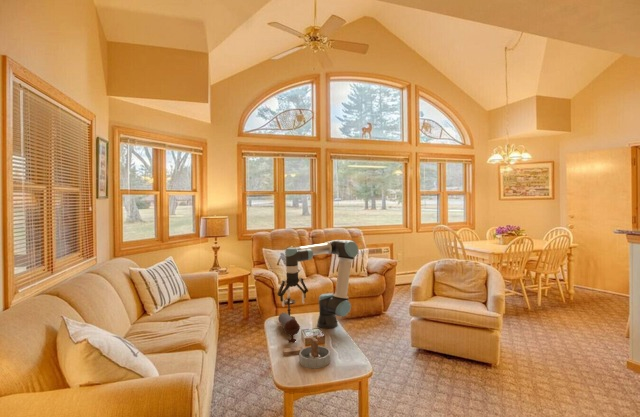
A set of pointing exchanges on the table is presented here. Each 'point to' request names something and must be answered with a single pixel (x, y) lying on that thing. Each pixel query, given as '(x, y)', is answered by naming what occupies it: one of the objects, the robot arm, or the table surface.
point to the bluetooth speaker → (284, 318)
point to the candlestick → (289, 302)
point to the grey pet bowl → (312, 362)
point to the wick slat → (314, 347)
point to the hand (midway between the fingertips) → (293, 304)
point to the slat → (292, 351)
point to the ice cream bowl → (291, 329)
